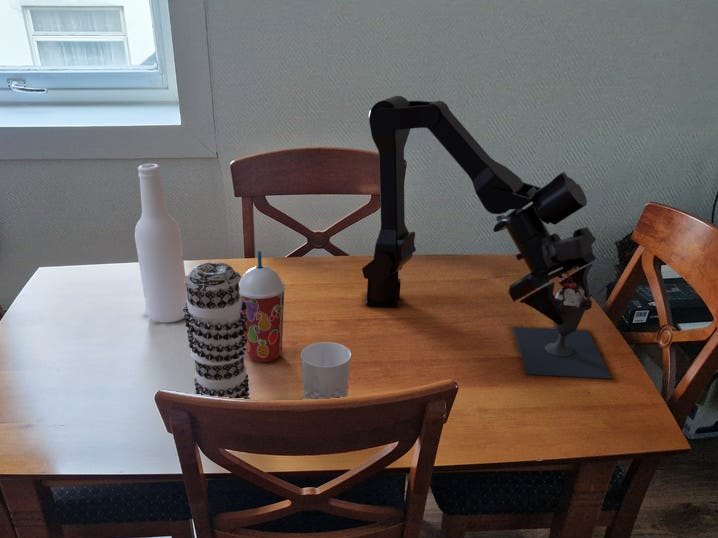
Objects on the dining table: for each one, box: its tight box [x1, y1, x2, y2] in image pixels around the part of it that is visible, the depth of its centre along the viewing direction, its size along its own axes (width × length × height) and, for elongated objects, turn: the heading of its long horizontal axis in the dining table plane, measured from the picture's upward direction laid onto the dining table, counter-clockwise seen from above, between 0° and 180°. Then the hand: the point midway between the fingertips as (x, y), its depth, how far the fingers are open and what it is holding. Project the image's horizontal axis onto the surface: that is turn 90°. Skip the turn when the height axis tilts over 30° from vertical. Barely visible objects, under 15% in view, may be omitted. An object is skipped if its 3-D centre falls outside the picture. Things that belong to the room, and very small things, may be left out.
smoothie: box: [239, 250, 286, 363], centre depth 116 cm, size 8×8×20 cm
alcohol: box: [134, 163, 188, 324], centre depth 128 cm, size 9×9×30 cm
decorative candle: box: [183, 261, 251, 400], centre depth 99 cm, size 9×9×25 cm
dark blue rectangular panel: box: [512, 326, 613, 380], centre depth 120 cm, size 14×18×1 cm
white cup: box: [300, 341, 352, 400], centre depth 104 cm, size 8×8×10 cm
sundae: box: [545, 272, 593, 357], centre depth 116 cm, size 7×7×15 cm
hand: (575, 316), depth 115 cm, fingers open, 8 cm apart
